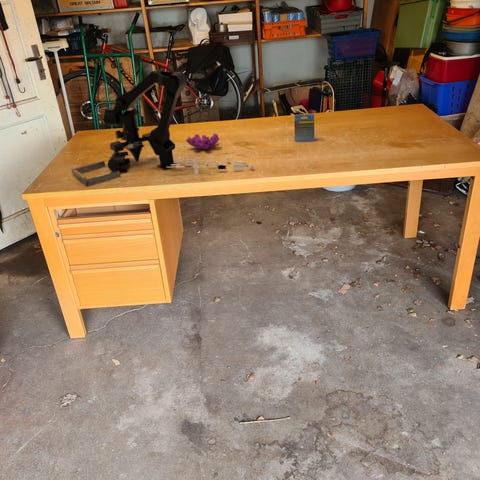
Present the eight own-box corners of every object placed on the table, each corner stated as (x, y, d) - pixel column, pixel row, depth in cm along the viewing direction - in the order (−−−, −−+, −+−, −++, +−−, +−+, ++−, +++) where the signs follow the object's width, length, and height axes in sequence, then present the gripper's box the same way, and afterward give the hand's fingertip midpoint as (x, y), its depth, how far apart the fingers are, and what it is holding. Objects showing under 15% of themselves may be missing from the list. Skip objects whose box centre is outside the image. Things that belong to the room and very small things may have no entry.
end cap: (114, 166, 198) (110, 151, 195) (130, 164, 198) (127, 149, 194) (109, 174, 189) (105, 158, 186) (126, 172, 189) (123, 157, 186)
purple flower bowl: (219, 156, 210) (216, 144, 201) (187, 157, 211) (182, 145, 203) (221, 135, 214) (218, 123, 205) (189, 136, 216) (185, 124, 207)
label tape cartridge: (314, 138, 212) (314, 111, 206) (314, 141, 209) (314, 114, 203) (294, 139, 213) (294, 112, 207) (294, 142, 210) (294, 115, 204)
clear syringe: (165, 175, 182) (169, 169, 194) (253, 174, 182) (252, 168, 194) (164, 159, 180) (168, 153, 191) (253, 158, 180) (252, 153, 192)
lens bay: (120, 176, 186) (119, 170, 185) (87, 186, 179) (85, 179, 178) (104, 166, 198) (103, 160, 197) (72, 175, 191) (71, 168, 190)
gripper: (142, 117, 200) (148, 151, 207) (101, 127, 191) (109, 162, 199) (153, 121, 192) (159, 157, 199) (111, 132, 183) (119, 169, 190)
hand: (137, 161), depth 197 cm, fingers closed
